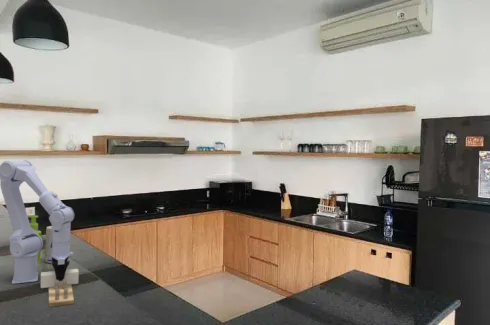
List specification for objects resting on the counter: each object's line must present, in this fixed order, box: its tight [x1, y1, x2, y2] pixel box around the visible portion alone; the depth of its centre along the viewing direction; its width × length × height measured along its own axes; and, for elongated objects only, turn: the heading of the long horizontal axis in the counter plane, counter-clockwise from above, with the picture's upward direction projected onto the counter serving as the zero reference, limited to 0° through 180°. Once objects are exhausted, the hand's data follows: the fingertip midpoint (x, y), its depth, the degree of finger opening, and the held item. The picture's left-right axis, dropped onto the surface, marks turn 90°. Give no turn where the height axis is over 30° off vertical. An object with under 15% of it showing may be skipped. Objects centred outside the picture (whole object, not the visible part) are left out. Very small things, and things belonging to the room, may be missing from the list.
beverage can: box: [44, 225, 53, 264], centre depth 156 cm, size 6×6×15 cm
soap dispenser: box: [24, 214, 42, 265], centre depth 153 cm, size 6×7×20 cm
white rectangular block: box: [40, 268, 80, 289], centre depth 131 cm, size 12×4×4 cm, turn 119°
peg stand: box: [48, 279, 75, 308], centre depth 120 cm, size 14×7×4 cm, turn 29°
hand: (59, 278), depth 131 cm, fingers closed on white rectangular block, 4 cm apart
